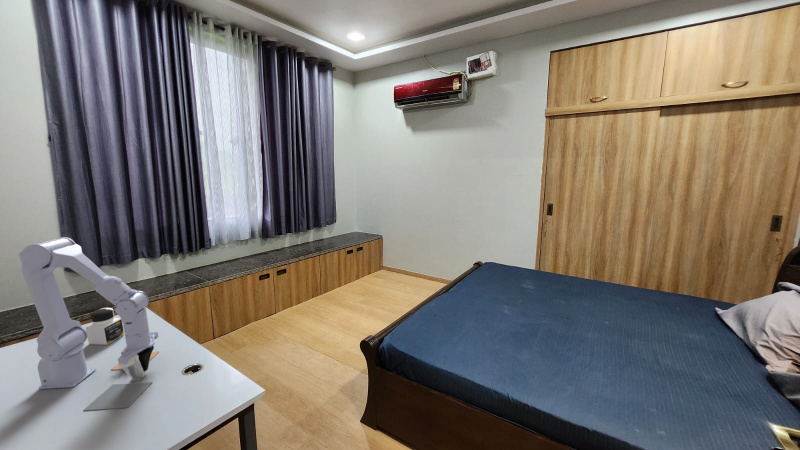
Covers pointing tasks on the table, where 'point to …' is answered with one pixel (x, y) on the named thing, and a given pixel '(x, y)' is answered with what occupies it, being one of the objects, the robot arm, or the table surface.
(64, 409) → the table surface
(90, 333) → the medicine bottle
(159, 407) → the table surface
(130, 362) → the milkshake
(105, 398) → the tile slate
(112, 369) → the tile terracotta
